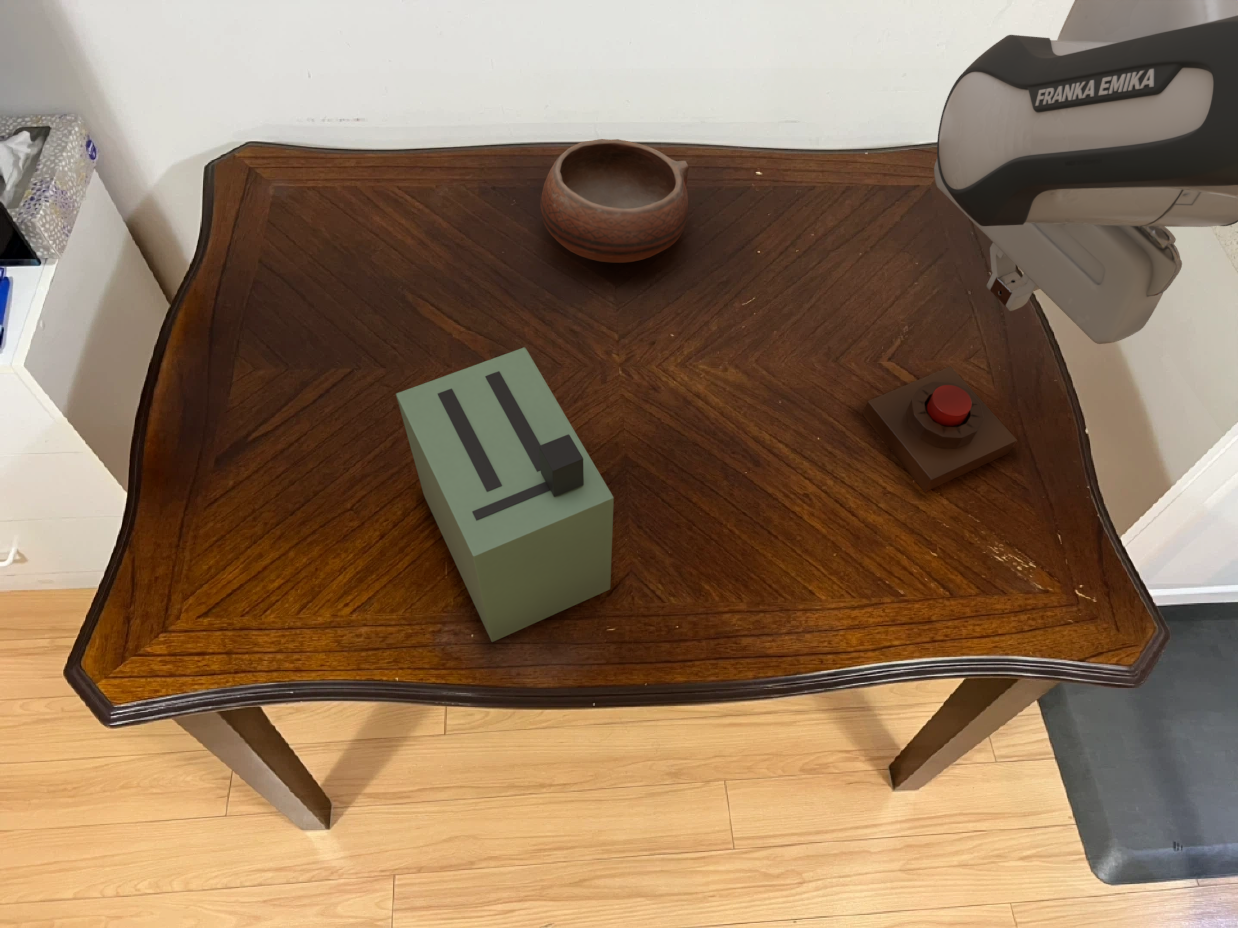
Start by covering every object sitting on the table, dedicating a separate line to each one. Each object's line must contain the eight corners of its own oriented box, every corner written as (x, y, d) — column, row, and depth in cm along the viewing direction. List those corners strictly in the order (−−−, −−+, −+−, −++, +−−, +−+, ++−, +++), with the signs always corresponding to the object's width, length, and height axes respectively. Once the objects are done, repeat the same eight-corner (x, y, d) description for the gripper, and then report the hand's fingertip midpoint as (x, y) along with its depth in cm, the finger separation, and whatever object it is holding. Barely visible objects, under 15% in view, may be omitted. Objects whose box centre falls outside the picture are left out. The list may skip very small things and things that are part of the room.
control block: (1008, 453, 91) (1024, 429, 87) (924, 492, 88) (937, 468, 85) (943, 379, 95) (956, 353, 92) (862, 414, 93) (872, 389, 89)
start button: (973, 418, 88) (980, 407, 87) (942, 432, 87) (948, 421, 86) (949, 391, 90) (955, 379, 89) (919, 404, 89) (924, 392, 88)
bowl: (706, 220, 107) (716, 147, 99) (647, 311, 100) (652, 240, 91) (584, 177, 111) (583, 102, 103) (517, 262, 103) (510, 189, 95)
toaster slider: (584, 485, 69) (583, 458, 66) (554, 497, 69) (552, 471, 66) (570, 460, 71) (569, 433, 68) (540, 472, 70) (538, 445, 67)
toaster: (610, 589, 82) (614, 497, 69) (491, 642, 79) (472, 556, 66) (534, 451, 89) (525, 345, 77) (423, 495, 86) (395, 392, 74)
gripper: (1228, 237, 60) (1126, 375, 72) (1017, 62, 70) (957, 207, 82) (1155, 268, 59) (1062, 404, 70) (949, 84, 69) (898, 229, 80)
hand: (1004, 297), depth 76 cm, fingers closed
